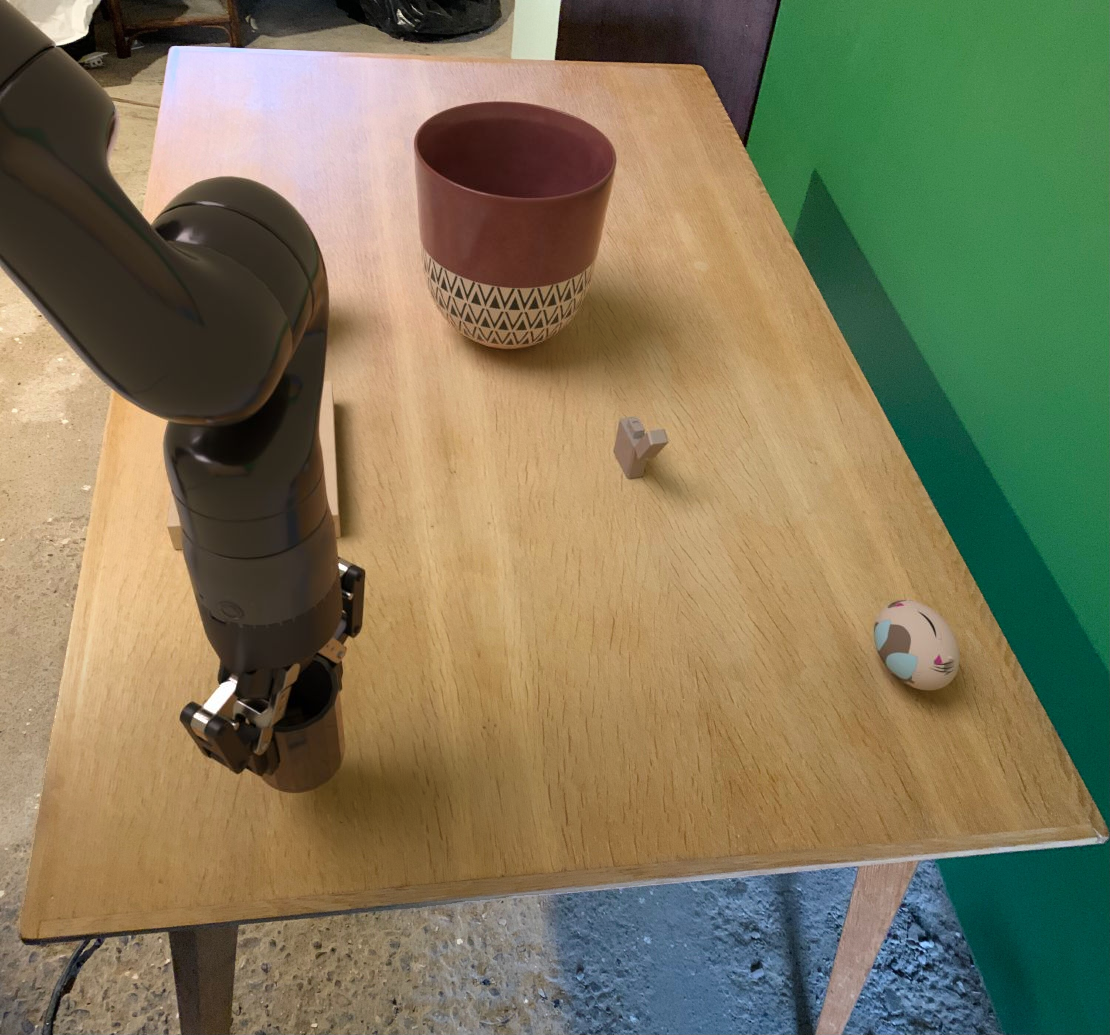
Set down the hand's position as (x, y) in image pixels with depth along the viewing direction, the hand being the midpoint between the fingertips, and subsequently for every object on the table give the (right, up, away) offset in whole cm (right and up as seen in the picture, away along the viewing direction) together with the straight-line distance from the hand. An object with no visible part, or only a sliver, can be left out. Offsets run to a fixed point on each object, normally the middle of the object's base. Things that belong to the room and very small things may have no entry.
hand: (295, 725), depth 62 cm
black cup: (0, -2, +3) cm, 4 cm away
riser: (-10, +18, +26) cm, 34 cm away
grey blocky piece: (+25, +18, +31) cm, 44 cm away
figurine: (+46, +1, +18) cm, 50 cm away
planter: (+11, +35, +45) cm, 58 cm away
